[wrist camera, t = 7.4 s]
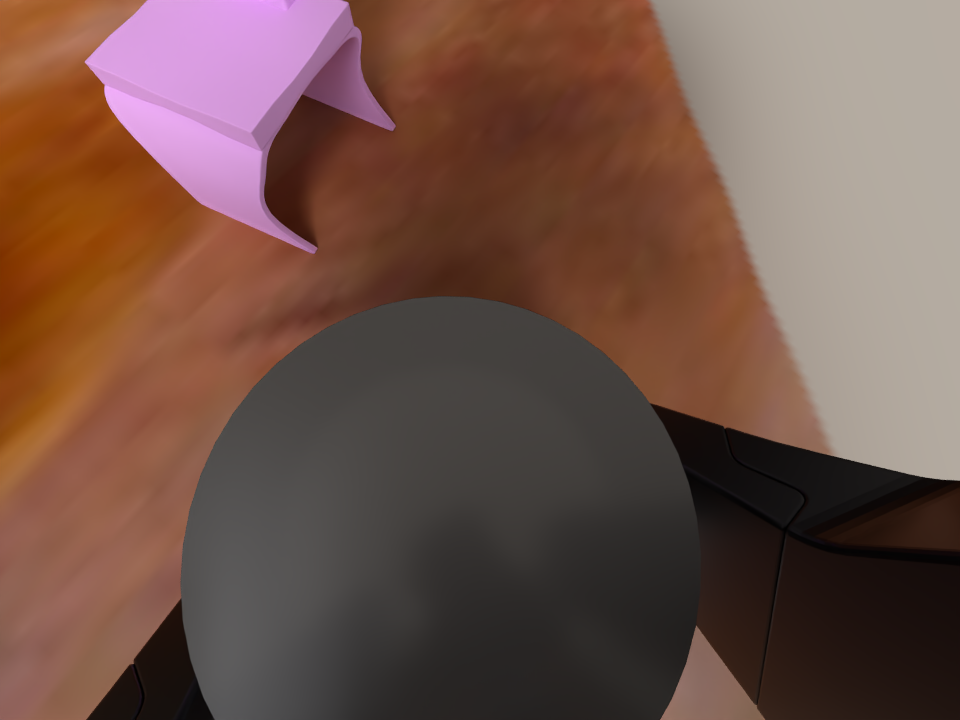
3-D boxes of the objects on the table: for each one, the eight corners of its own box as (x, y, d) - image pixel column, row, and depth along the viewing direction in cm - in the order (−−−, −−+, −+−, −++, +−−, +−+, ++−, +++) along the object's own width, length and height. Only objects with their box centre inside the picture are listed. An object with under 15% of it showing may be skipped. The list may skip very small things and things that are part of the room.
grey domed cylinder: (558, 546, 16) (818, 672, 4) (416, 620, 15) (271, 1023, 3) (491, 409, 17) (556, 224, 6) (358, 470, 16) (110, 403, 5)
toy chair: (176, 204, 22) (-335, -326, 8) (274, 76, 25) (18, -506, 10) (328, 272, 22) (68, -174, 7) (414, 134, 24) (345, -404, 10)
